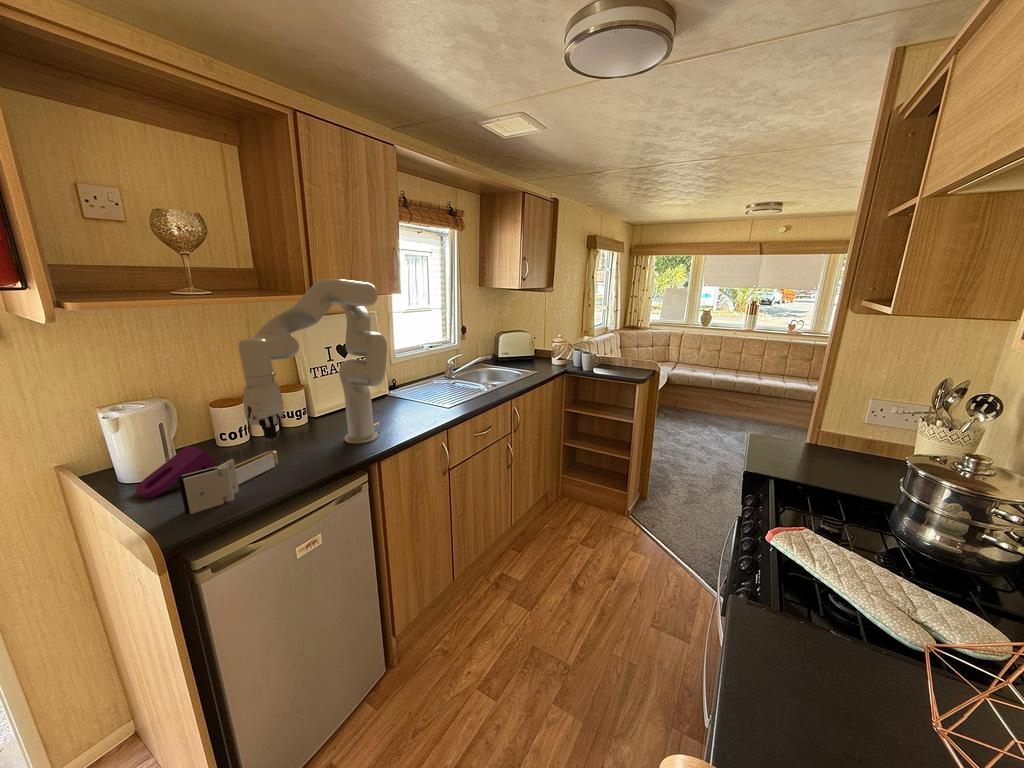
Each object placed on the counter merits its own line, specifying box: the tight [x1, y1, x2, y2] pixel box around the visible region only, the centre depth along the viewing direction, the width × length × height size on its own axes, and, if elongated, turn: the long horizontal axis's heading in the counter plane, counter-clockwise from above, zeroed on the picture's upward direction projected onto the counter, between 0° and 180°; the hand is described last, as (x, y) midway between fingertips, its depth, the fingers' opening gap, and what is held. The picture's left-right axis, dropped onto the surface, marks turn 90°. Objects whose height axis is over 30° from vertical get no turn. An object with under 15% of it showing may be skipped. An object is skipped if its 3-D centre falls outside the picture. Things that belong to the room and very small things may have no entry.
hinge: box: [178, 459, 240, 515], centre depth 113 cm, size 14×5×10 cm, turn 149°
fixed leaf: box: [235, 449, 279, 469], centre depth 131 cm, size 18×3×5 cm, turn 162°
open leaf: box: [235, 454, 276, 486], centre depth 129 cm, size 15×1×4 cm, turn 163°
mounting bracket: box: [135, 445, 217, 499], centre depth 125 cm, size 10×8×18 cm
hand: (271, 437), depth 126 cm, fingers closed
